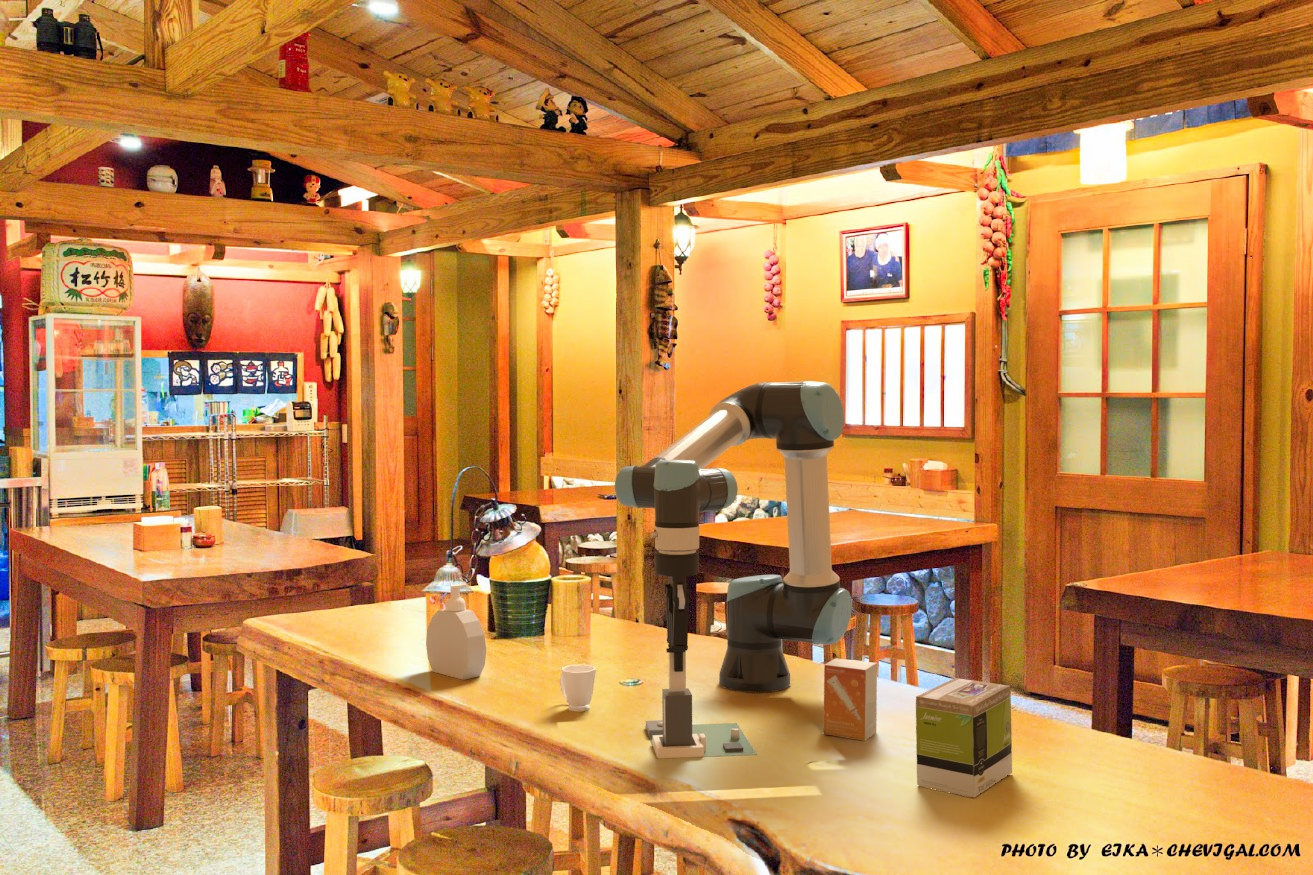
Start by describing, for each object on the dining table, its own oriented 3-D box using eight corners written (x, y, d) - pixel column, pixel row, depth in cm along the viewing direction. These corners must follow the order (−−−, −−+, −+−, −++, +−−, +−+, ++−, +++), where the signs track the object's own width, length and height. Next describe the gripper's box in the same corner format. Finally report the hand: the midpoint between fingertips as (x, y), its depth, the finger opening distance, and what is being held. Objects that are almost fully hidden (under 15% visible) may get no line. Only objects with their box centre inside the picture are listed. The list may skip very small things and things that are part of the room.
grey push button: (678, 733, 210) (678, 718, 210) (685, 748, 201) (685, 733, 201) (645, 734, 210) (645, 719, 209) (651, 750, 200) (651, 734, 200)
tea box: (955, 762, 193) (955, 675, 192) (1013, 775, 186) (1014, 684, 186) (914, 786, 181) (914, 693, 181) (974, 800, 175) (975, 704, 174)
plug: (688, 745, 198) (688, 688, 198) (692, 753, 194) (692, 694, 194) (662, 746, 198) (662, 689, 198) (665, 754, 193) (665, 695, 193)
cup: (573, 715, 222) (572, 674, 222) (547, 704, 230) (546, 664, 230) (603, 709, 226) (603, 669, 226) (576, 699, 235) (576, 659, 234)
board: (736, 729, 212) (736, 714, 212) (757, 761, 194) (757, 745, 193) (645, 732, 211) (645, 717, 210) (657, 765, 192) (657, 749, 192)
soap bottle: (488, 677, 253) (487, 587, 252) (469, 682, 249) (468, 590, 248) (445, 666, 264) (444, 580, 263) (425, 670, 260) (424, 582, 259)
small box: (823, 735, 209) (823, 664, 208) (835, 726, 214) (835, 657, 214) (865, 741, 205) (866, 669, 204) (877, 732, 210) (877, 662, 210)
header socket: (701, 742, 200) (701, 728, 200) (708, 756, 193) (708, 742, 193) (652, 744, 199) (652, 730, 199) (657, 758, 192) (657, 744, 192)
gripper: (650, 546, 201) (651, 680, 202) (659, 556, 188) (659, 699, 189) (693, 545, 202) (693, 679, 203) (704, 555, 189) (705, 698, 190)
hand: (677, 688), depth 196 cm, fingers closed
